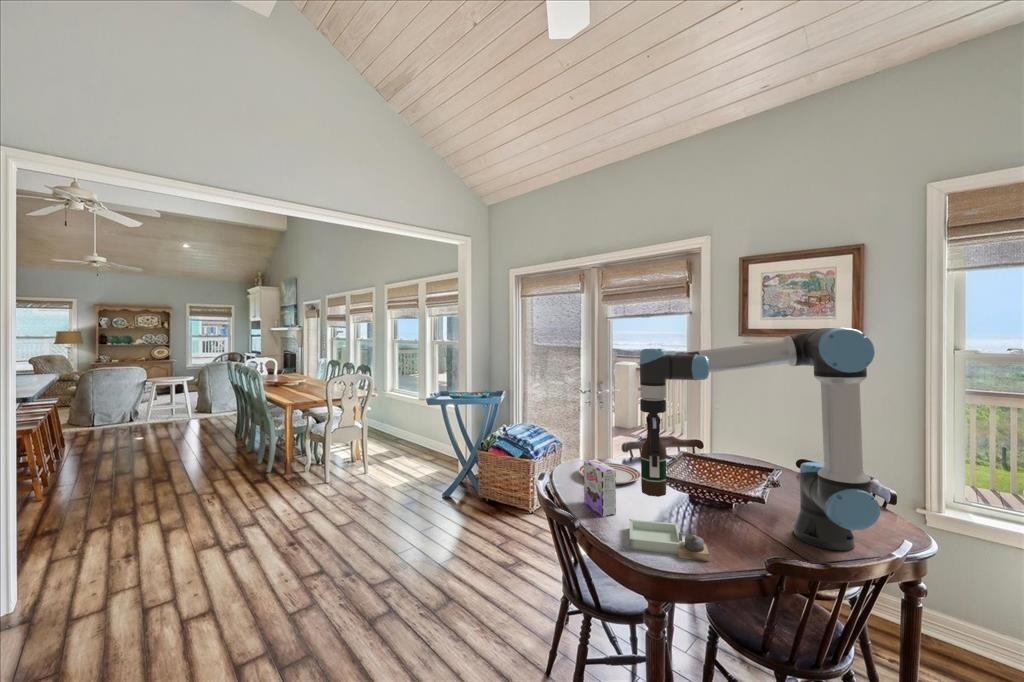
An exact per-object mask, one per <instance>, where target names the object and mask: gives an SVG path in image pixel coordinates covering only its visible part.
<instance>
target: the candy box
mask: <svg viewBox="0 0 1024 682" xmlns="http://www.w3.org/2000/svg"><path fill="white" fill-rule="evenodd" d="M602 462H603V461H601V460H598V459H597V458H593V459H587V460H583V465H584V476H583V481H584V482H583V483H584V484H583V486H584V487H583V488H584V489H583V490H584V491H583V492H584V498H583V500H584V501H583V503H584V504H585V505H586V506H588V507H589V508H590V509H591V510H593V511H594V512H595V513H597V514H598V515H599V516H601V517H602V518H605V517H606V518H607V517H613V516H617V508H616V507H617V505H616V504H617V503H616V502H617V498H616V497H617V495H616V491H617V490H616V489H617V485H616V469H613V468H611V467H609V466H608V465H606V464H604V463H602Z"/></svg>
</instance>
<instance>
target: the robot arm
mask: <svg viewBox="0 0 1024 682" xmlns="http://www.w3.org/2000/svg"><path fill="white" fill-rule="evenodd" d="M874 358H875V347H874V344H873V341H872V340H871V338H870V337H868V335H866V333H863V332H862V331H860V330H859V329H855V328H848V327H843V326H842V327H841V326H839V327H831V328H830V327H828V328H827V327H826V328H825V327H824V328H823V327H822V328H817V329H813V330H810V331H806V332H801V333H797V334H791V335H786V336H785V337H783V339H779V340H778V339H776V340H772V341H763V342H754V343H746V344H741V345H733V346H732V345H731V346H725V347H718V348H712V349H711V348H710V349H709V348H708V349H701V350H696V351H688V352H677V353H675V354H667V353H666V349H665V348H643V349H641V350H640V352H639V386H640V387H638V388H637V391H639V392H640V395H639V396H640V398H641V399H640V400H639V401H640V403H639V405H640V407H639V409H640V411H641V412H642V413H646V414H649V415H650V418H647V416H646V417H645V418H646V419H645V420H646V421H645V422H646V428H647V429H648V432H649V433H650V453H648V456H650V477H655V478H659V455H660V452H659V437H660V433H661V431H660V430H661V429H660V428H661V427H660V426H661V417H660V416H659V414H662V413H665V412H666V411H667V401H666V397H667V385H666V384H667V383H666V382H667V380H669V381H671V380H675V381H676V380H677V381H679V380H682V381H684V380H685V381H687V380H688V381H702V380H703V381H704V380H705V381H706V380H707V379H708V378H709V375H710V373H711V374H712V373H718V372H719V373H720V372H727V371H736V370H745V369H752V368H753V369H754V368H763V367H770V366H778V365H779V366H780V365H788V366H790V367H797V366H799V367H801V366H807V367H808V366H810V367H813V377H814V378H815V379H816V380H818V381H819V382H820V392H821V393H820V395H821V397H820V398H821V418H822V419H821V421H822V424H821V425H822V444H823V445H822V446H823V452H822V453H823V462H814V461H812V462H810V461H808V462H802V463H801V464H800V468H799V473H798V474H799V503H800V504H799V505H800V506H799V507H800V508H799V512H798V514H797V517H796V520H795V521H794V524H793V534H794V536H795V537H796V538H798V539H799V540H801V541H802V542H803V543H806V544H808V545H811V546H814V547H817V548H821V549H826V550H831V551H849V550H852V549H855V536H854V533H853V531H863V530H867V529H870V527H872V526H873V525H875V524H876V523H877V522H878V520H879V518H880V516H881V506H880V503H879V501H878V499H877V498H876V497H875V496H874V495H873V494H872V484H871V483H872V480H871V477H870V475H868V474H866V472H865V471H864V466H863V464H864V460H863V457H864V456H863V436H862V434H863V433H862V431H863V430H862V407H861V405H862V404H861V383H862V382H863V381H864V380H866V379H867V378H868V376H867V375H868V373H867V372H868V370H867V369H868V368H867V367H869V366H870V364H871V363H872V362H873V360H874ZM658 416H659V419H658Z"/></svg>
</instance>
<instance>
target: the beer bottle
mask: <svg viewBox="0 0 1024 682" xmlns="http://www.w3.org/2000/svg"><path fill="white" fill-rule="evenodd" d="M646 417H647V418H650V415H649V413H647V416H646ZM659 417H660V416H659V415H658V419H659ZM646 431H647V433H646V434H647V435H646V439H645V442H644V443H643V445H642V447H641V453H640V469H641V471H640V473H641V477H640V481H641V484H640V485H641V493H642V494H645V495H647V496H650V497H658V498H659V497H663V496H666V495H667V455H666V449H665V446H664V444H663V442H662V441H661V438H660V436H659V452H660V455H659V478H655V477H650V456H648V453H650V433H649V432H648V429H647V430H646Z"/></svg>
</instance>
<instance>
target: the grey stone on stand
mask: <svg viewBox="0 0 1024 682" xmlns="http://www.w3.org/2000/svg"><path fill="white" fill-rule="evenodd" d="M679 540H680V541H683V532H681V531H680V532H679ZM677 542H678V541H677ZM678 543H679V542H678ZM683 544H684V548H678V554H677V557H678V558H679V559H686V560H696V561H706V562H710V552H709V549H708V547H707V544H706V543H705V542H704V538H702V537H701V536H698V535H695V534H690V535H686V536H685V537H684V541H683Z"/></svg>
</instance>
